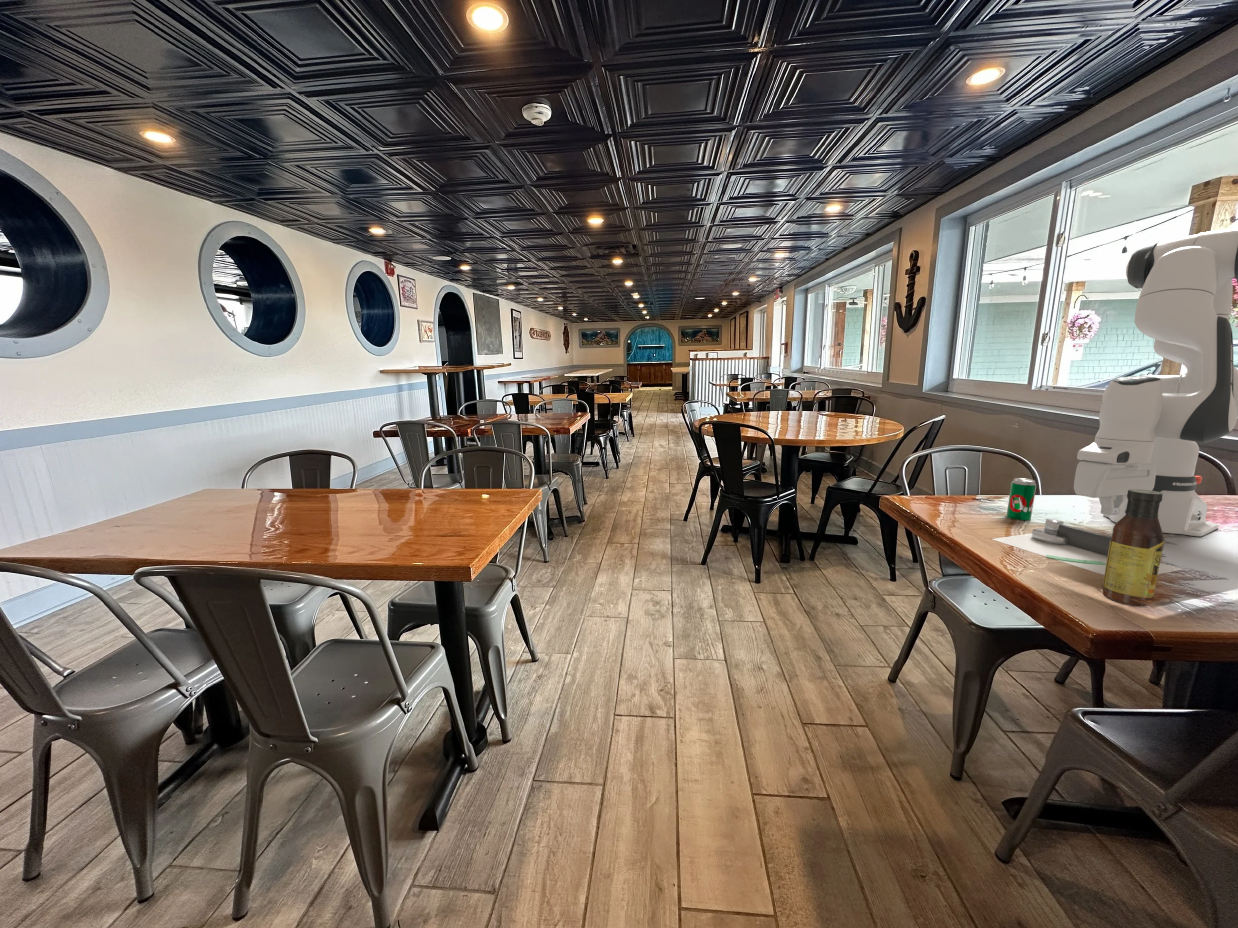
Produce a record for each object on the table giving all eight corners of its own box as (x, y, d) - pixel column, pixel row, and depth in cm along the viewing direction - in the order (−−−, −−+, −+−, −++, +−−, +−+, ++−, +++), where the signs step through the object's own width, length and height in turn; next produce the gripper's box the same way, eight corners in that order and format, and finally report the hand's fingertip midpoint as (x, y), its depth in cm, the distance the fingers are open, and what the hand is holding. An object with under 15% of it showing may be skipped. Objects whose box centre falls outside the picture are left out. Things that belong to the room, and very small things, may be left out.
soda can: (1020, 520, 129) (1027, 477, 127) (1034, 526, 124) (1042, 481, 122) (1001, 519, 129) (1007, 477, 127) (1014, 525, 124) (1021, 481, 122)
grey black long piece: (1024, 536, 111) (1027, 517, 110) (1044, 533, 113) (1047, 515, 112) (1106, 560, 97) (1110, 539, 96) (1129, 556, 99) (1133, 535, 98)
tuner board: (1044, 537, 116) (1045, 530, 115) (1181, 576, 93) (1183, 568, 93) (988, 545, 110) (989, 538, 110) (1119, 588, 88) (1121, 580, 88)
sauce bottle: (1158, 611, 79) (1183, 498, 76) (1106, 602, 83) (1128, 493, 79) (1142, 596, 85) (1165, 489, 81) (1095, 588, 88) (1114, 485, 84)
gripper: (1133, 449, 107) (1121, 507, 109) (1072, 451, 101) (1061, 513, 104) (1172, 453, 101) (1158, 515, 103) (1109, 456, 95) (1096, 521, 98)
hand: (1109, 514), depth 103 cm, fingers closed
